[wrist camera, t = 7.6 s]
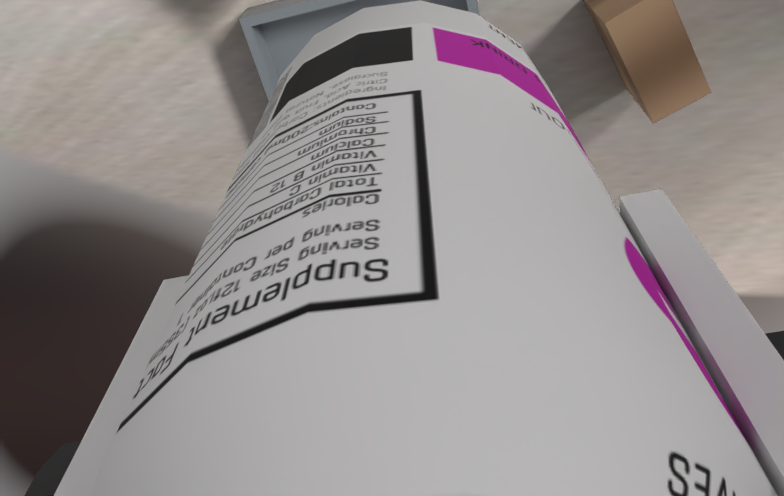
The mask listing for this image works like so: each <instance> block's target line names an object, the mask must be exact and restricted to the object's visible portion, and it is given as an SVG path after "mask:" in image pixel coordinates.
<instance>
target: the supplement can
mask: <svg viewBox="0 0 784 496" xmlns="http://www.w3.org/2000/svg"><path fill="white" fill-rule="evenodd" d="M92 496H778V495H777V493H776V492H775V490H774V488H773V486H772V484H771V483H770V481H769V479H768V477H767V476H766V474H765V472H764V470H763V468H762V467H761V465H760V463H759V461H758V459H757V458H756V456H755V454H754V452H753V451H752V449H751V447H750V445H749V443H748V442H747V440H746V438H745V436H744V434H743V433H742V431H741V429H740V427H739V426H738V424H737V422H736V420H735V418H734V417H733V415H732V413H731V411H730V410H729V408H728V406H727V404H726V402H725V401H724V399H723V397H722V395H721V393H720V392H719V390H718V388H717V386H716V385H715V383H714V381H713V379H712V377H711V376H710V374H709V372H708V370H707V369H706V367H705V365H704V363H703V361H702V360H701V358H700V356H699V354H698V352H697V351H696V349H695V347H694V345H693V344H692V342H691V340H690V338H689V336H688V335H687V333H686V331H685V329H684V328H683V326H682V324H681V322H680V320H679V319H678V317H677V315H676V313H675V311H674V310H673V308H672V306H671V304H670V303H669V301H668V299H667V297H666V295H665V294H664V292H663V290H662V288H661V287H660V285H659V283H658V281H657V279H656V278H655V276H654V274H653V272H652V270H651V269H650V267H649V265H648V263H647V262H646V260H645V258H644V256H643V254H642V253H641V251H640V249H639V247H638V246H637V244H636V242H635V240H634V238H633V237H632V235H631V233H630V231H629V229H628V228H627V226H626V224H625V222H624V221H623V219H622V217H621V215H620V213H619V212H618V210H617V208H616V206H615V205H614V203H613V201H612V199H611V197H610V196H609V194H608V192H607V190H606V188H605V187H604V185H603V183H602V181H601V180H600V178H599V176H598V174H597V172H596V171H595V169H594V167H593V165H592V164H591V162H590V160H589V158H588V156H587V155H586V153H585V151H584V149H583V147H582V146H581V144H580V142H579V140H578V139H577V137H576V135H575V133H574V131H573V130H572V128H571V126H570V124H569V122H568V121H567V119H566V117H565V115H564V114H563V112H562V110H561V108H560V106H559V105H558V103H557V101H556V99H555V98H554V96H553V94H552V92H551V90H550V89H549V87H548V85H547V84H546V82H545V81H544V79H543V78H542V76H541V75H540V73H539V72H538V70H537V69H536V67H535V66H534V64H533V63H532V61H531V59H530V58H529V56H528V55H527V53H526V52H525V50H524V49H523V47H522V46H521V44H519V43H518V42H516V41H515V40H514V39H512V38H511V37H509V36H508V35H506V34H505V33H503V32H502V31H501V30H499V29H498V28H496V27H495V26H493V25H492V24H490V23H489V22H488V21H486V20H485V19H483V18H482V17H480V16H479V15H477V14H476V13H472V12H468V11H463V10H459V9H455V8H451V7H446V6H442V5H438V4H434V3H429V2H425V1H421V0H420V1H412V2H405V3H397V4H390V5H383V6H375V7H368V8H363V9H361V10H359V11H357V12H356V13H354V14H352V15H350V16H348V17H346V18H344V19H343V20H341V21H339V22H337V23H335V24H333V25H332V26H330V27H328V28H326V29H324V30H322V31H321V32H319V33H317V34H315V35H314V36H313V37H312V39H311V40H310V41H309V42H308V43H307V44H306V46H305V47H304V48H303V49H302V50H301V52H300V53H299V54H298V55H297V56H296V58H295V59H294V60H293V61H292V62H291V63H290V65H289V66H288V67H287V68H286V69H285V71H284V72H283V73H282V74H281V76H280V78H279V80H278V82H277V84H276V87H275V89H274V91H273V93H272V95H271V97H270V100H269V102H268V104H267V106H266V108H265V110H264V113H263V115H262V117H261V119H260V121H259V124H258V126H257V128H256V130H255V132H254V134H253V137H252V139H251V141H250V143H249V145H248V147H247V150H246V152H245V154H244V156H243V158H242V161H241V163H240V165H239V167H238V169H237V171H236V174H235V176H234V178H233V180H232V182H231V184H230V187H229V189H228V191H227V193H226V195H225V198H224V200H223V202H222V204H221V206H220V208H219V211H218V213H217V215H216V217H215V219H214V221H213V224H212V226H211V228H210V230H209V232H208V235H207V237H206V239H205V241H204V243H203V246H202V248H201V250H200V252H199V254H198V256H197V259H196V261H195V263H194V265H193V267H192V270H191V272H190V274H189V276H188V278H187V280H186V282H185V285H184V287H183V289H182V291H181V293H180V295H179V298H178V300H177V302H176V304H175V306H174V309H173V311H172V313H171V315H170V317H169V319H168V322H167V324H166V326H165V328H164V330H163V332H162V335H161V337H160V339H159V341H158V343H157V346H156V348H155V350H154V352H153V354H152V356H151V359H150V361H149V363H148V365H147V367H146V369H145V372H144V374H143V376H142V378H141V380H140V383H139V385H138V387H137V389H136V391H135V393H134V396H133V398H132V400H131V402H130V404H129V406H128V409H127V411H126V413H125V415H124V417H123V419H122V422H121V424H120V426H119V428H118V430H117V433H116V435H115V437H114V439H113V441H112V443H111V446H110V448H109V450H108V452H107V454H106V456H105V459H104V461H103V463H102V465H101V467H100V470H99V472H98V475H97V479H96V483H95V486H94V490H93V494H92Z"/></svg>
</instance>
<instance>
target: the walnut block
mask: <svg viewBox="0 0 784 496" xmlns="http://www.w3.org/2000/svg"><path fill="white" fill-rule="evenodd" d="M583 1H584V3H585V5H586V7H587V9H588V11H589V13H590V15H591V17H592V19H593V21H594V23H595V25H596V27H597V29H598V31H599V33H600V35H601V37H602V39H603V41H604V43H605V45H606V47H607V49H608V51H609V53H610V55H611V58H612V60H613V62H614V64H615V66H616V68H617V70H618V72H619V74H620V76H621V78H622V80H623V82H624V84H625V86H626V88H627V90H628V91H629V92H630V94H631V95H632V96H633V98H634V99H635V100H636V102H637V103H638V104H639V105H640V107H641V108H642V109H643V111H644V112H645V113H646V115H647V116H648V117H649V119H650V120H651V121H652V122H653V123H655V122H657V121H659V120H661V119H663V118H665V117H666V116H668V115H670V114H672V113H674V112H676V111H678V110H679V109H681V108H683V107H685V106H687V105H689V104H691V103H693V102H694V101H696V100H698V99H700V98H702V97H704V96H706V95H708V94H709V93H711V90H710V88H709V86H708V83H707V81H706V79H705V76H704V74H703V71H702V69H701V67H700V64H699V62H698V60H697V57H696V55H695V52H694V50H693V48H692V45H691V43H690V41H689V38H688V36H687V34H686V31H685V29H684V26H683V24H682V22H681V19H680V17H679V15H678V12H677V10H676V7H675V5H674V3H673V0H583Z"/></svg>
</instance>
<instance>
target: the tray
mask: <svg viewBox="0 0 784 496" xmlns="http://www.w3.org/2000/svg"><path fill="white" fill-rule="evenodd" d="M412 1H420V0H277V1H273V2H269V3H266V4H262V5H258V6H254V7H250V8H248V9H247V10H246V11H245V12H244V13H243V15H242V16H241V17H240V18H239V21H240V24H241V27H242V29H243V32H244V35H245V38H246V40H247V43H248V46H249V49H250V52H251V54H252V57H253V60H254V63H255V65H256V68H257V71H258V74H259V76H260V79H261V82H262V85H263V87H264V90H265V93H266V96H267V98H268V101H269V100H270V97H271V95H272V93H273V91H274V89H275V87H276V84H277V82H278V80H279V78H280V76H281V74H282V73H283V72H284V71H285V69H286V68H287V67H288V66H289V65H290V63H291V62H292V61H293V60H294V59H295V58H296V56H297V55H298V54H299V53H300V52H301V50H302V49H303V48H304V47H305V46H306V44H307V43H308V42H309V41H310V40H311V39H312V37H313V36H314V35H315V34H317V33H319V32H321V31H322V30H324V29H326V28H328V27H330V26H332V25H333V24H335V23H337V22H339V21H341V20H343V19H344V18H346V17H348V16H350V15H352V14H354V13H356V12H357V11H359V10H361V9H363V8H368V7H375V6H383V5H390V4H397V3H405V2H412ZM421 1H425V2H429V3H434V4H438V5H442V6H446V7H451V8H455V9H459V10H463V11H468V12H472V13H476V14H477V15H479V11H478V5H477V0H421Z"/></svg>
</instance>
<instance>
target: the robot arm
mask: <svg viewBox="0 0 784 496" xmlns="http://www.w3.org/2000/svg"><path fill="white" fill-rule="evenodd" d="M619 198H620V215H621V217H622V219H623V221H624V222H625V224H626V226H627V228H628V229H629V231H630V233H631V235H632V237H633V238H634V240H635V242H636V244H637V246H638V247H639V249H640V251H641V253H642V254H643V256H644V258H645V260H646V262H647V263H648V265H649V267H650V269H651V270H652V272H653V274H654V276H655V278H656V279H657V281H658V283H659V285H660V287H661V288H662V290H663V292H664V294H665V295H666V297H667V299H668V301H669V303H670V304H671V306H672V308H673V310H674V311H675V313H676V315H677V317H678V319H679V320H680V322H681V324H682V326H683V328H684V329H685V331H686V333H687V335H688V336H689V338H690V340H691V342H692V344H693V345H694V347H695V349H696V351H697V352H698V354H699V356H700V358H701V360H702V361H703V363H704V365H705V367H706V369H707V370H708V372H709V374H710V376H711V377H712V379H713V381H714V383H715V385H716V386H717V388H718V390H719V392H720V393H721V395H722V397H723V399H724V401H725V402H726V404H727V406H728V408H729V410H730V411H731V413H732V415H733V417H734V418H735V420H736V422H737V424H738V426H739V427H740V429H741V431H742V433H743V434H744V436H745V438H746V440H747V442H748V443H749V445H750V447H751V449H752V451H753V452H754V454H755V456H756V458H757V459H758V461H759V463H760V465H761V467H762V468H763V470H764V472H765V474H766V476H767V477H768V479H769V481H770V483H771V484H772V486H773V488H774V490H775V492H776V493H777V495H778V496H784V331H780V332H773V333H767V334H765V333H764V332H763V330H762V329H761V328H760V327H759V325H758V324H757V322H756V321H755V319H754V318H753V316H752V315H751V314H750V312H749V311H748V309H747V308H746V307H745V306H744V304H743V302H742V301H741V300H740V298H739V297H738V295H737V294H736V293H735V291H734V290H733V288H732V287H731V286H730V284H729V283H728V281H727V280H726V278H725V277H724V276H723V274H722V273H721V271H720V270H719V269H718V267H717V266H716V264H715V263H714V262H713V260H712V259H711V257H710V256H709V255H708V253H707V252H706V250H705V249H704V248H703V246H702V245H701V243H700V242H699V241H698V239H697V238H696V236H695V235H694V234H693V232H692V231H691V229H690V228H689V226H688V225H687V224H686V222H685V221H684V219H683V218H682V217H681V215H680V214H679V212H678V211H677V210H676V208H675V207H674V205H673V204H672V203H671V201H670V200H669V198H668V197H667V196H666V194H665V193H664V191H663V190H662V189H658V190H653V191H647V192H642V193H636V194H631V195H625V196H620V197H619ZM188 276H189V275H188ZM188 276H183V277H178V278H172V279H167V280H163V282H162V284H161V286H160V288H159V290H158V292H157V294H156V296H155V298H154V300H153V302H152V304H151V306H150V308H149V310H148V312H147V314H146V315H145V317H144V319H143V321H142V323H141V325H140V327H139V329H138V331H137V333H136V335H135V337H134V339H133V341H132V343H131V345H130V347H129V349H128V351H127V353H126V355H125V357H124V359H123V361H122V363H121V365H120V367H119V369H118V370H117V372H116V374H115V376H114V378H113V380H112V382H111V384H110V386H109V388H108V390H107V392H106V394H105V396H104V398H103V400H102V402H101V404H100V406H99V408H98V410H97V412H96V414H95V416H94V418H93V420H92V421H91V423H90V425H89V427H88V429H87V432H86V433H85V435H84V437H83V439H82V441H76V442H69V443H64V444H63V445H62V446H61V447H60V448H59V449H58V450H57V451H56V452H55V453H54V454H53V455H52V456H51V458H50V459H49V460H48V461H47V462H46V463H45V464H44V465H43V466H42V467H41V468H40V469H39V470H38V472H37V474H36V476H35V478H34V480H33V481H32V483H31V485H30V487H29V489H28V490H27V492H26V494H25V496H92V494H93V490H94V486H95V483H96V479H97V475H98V472H99V470H100V467H101V465H102V463H103V461H104V459H105V456H106V454H107V452H108V450H109V448H110V446H111V443H112V441H113V439H114V437H115V435H116V433H117V430H118V428H119V426H120V424H121V422H122V419H123V417H124V415H125V413H126V411H127V409H128V406H129V404H130V402H131V400H132V398H133V396H134V393H135V391H136V389H137V387H138V385H139V383H140V380H141V378H142V376H143V374H144V372H145V369H146V367H147V365H148V363H149V361H150V359H151V356H152V354H153V352H154V350H155V348H156V346H157V343H158V341H159V339H160V337H161V335H162V332H163V330H164V328H165V326H166V324H167V322H168V319H169V317H170V315H171V313H172V311H173V309H174V306H175V304H176V302H177V300H178V298H179V295H180V293H181V291H182V289H183V287H184V285H185V282H186V280H187V278H188Z"/></svg>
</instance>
